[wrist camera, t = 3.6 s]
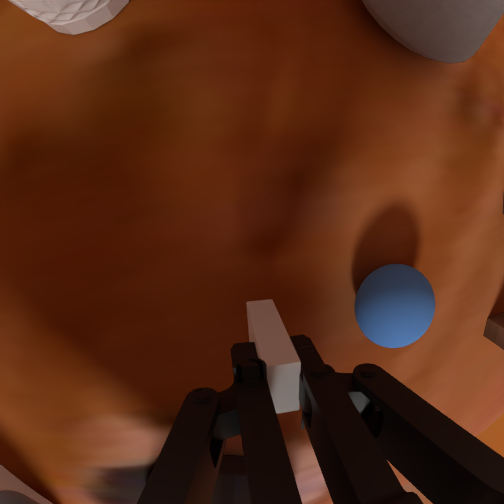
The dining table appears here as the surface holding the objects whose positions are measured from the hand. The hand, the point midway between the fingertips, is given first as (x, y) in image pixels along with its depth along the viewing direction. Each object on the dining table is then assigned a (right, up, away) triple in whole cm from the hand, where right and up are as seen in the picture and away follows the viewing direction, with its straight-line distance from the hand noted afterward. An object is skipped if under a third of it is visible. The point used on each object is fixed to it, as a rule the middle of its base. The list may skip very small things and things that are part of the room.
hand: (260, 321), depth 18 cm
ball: (+9, +1, +1) cm, 9 cm away
